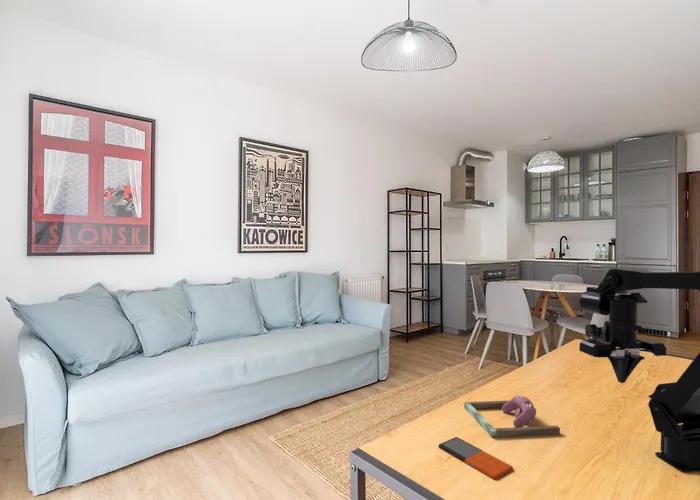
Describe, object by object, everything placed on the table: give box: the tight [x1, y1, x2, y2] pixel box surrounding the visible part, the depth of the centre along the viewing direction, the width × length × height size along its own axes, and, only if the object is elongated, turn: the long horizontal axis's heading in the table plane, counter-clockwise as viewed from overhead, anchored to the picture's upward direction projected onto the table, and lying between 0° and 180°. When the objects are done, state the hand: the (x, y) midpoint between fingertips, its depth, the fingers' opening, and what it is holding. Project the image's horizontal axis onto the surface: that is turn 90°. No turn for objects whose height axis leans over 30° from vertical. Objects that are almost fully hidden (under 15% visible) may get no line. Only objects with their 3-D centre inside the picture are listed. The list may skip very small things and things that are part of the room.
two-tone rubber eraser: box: [438, 436, 514, 481], centre depth 84 cm, size 6×1×15 cm
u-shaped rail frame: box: [463, 400, 561, 438], centre depth 101 cm, size 16×17×2 cm
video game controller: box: [501, 394, 537, 428], centre depth 102 cm, size 10×5×7 cm, turn 177°
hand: (621, 382), depth 96 cm, fingers closed
